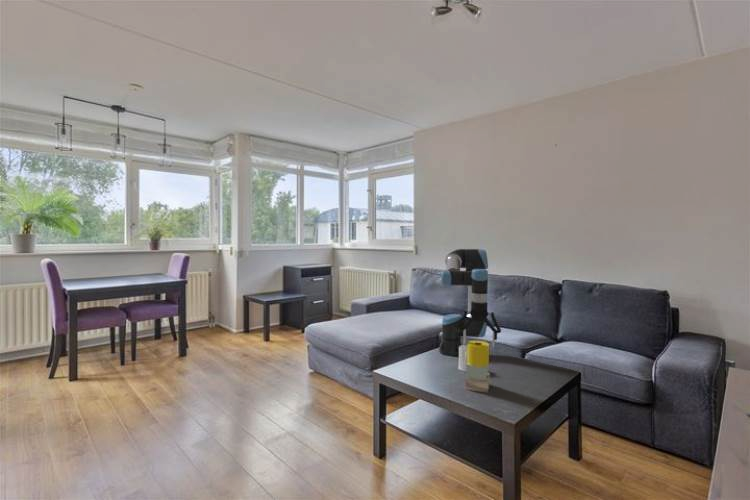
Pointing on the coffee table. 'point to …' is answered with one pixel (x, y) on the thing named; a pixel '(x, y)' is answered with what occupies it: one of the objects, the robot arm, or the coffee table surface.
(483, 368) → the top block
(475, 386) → the base block
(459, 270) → the robot arm
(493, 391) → the coffee table surface
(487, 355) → the yellow hollow cylinder
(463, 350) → the mug
